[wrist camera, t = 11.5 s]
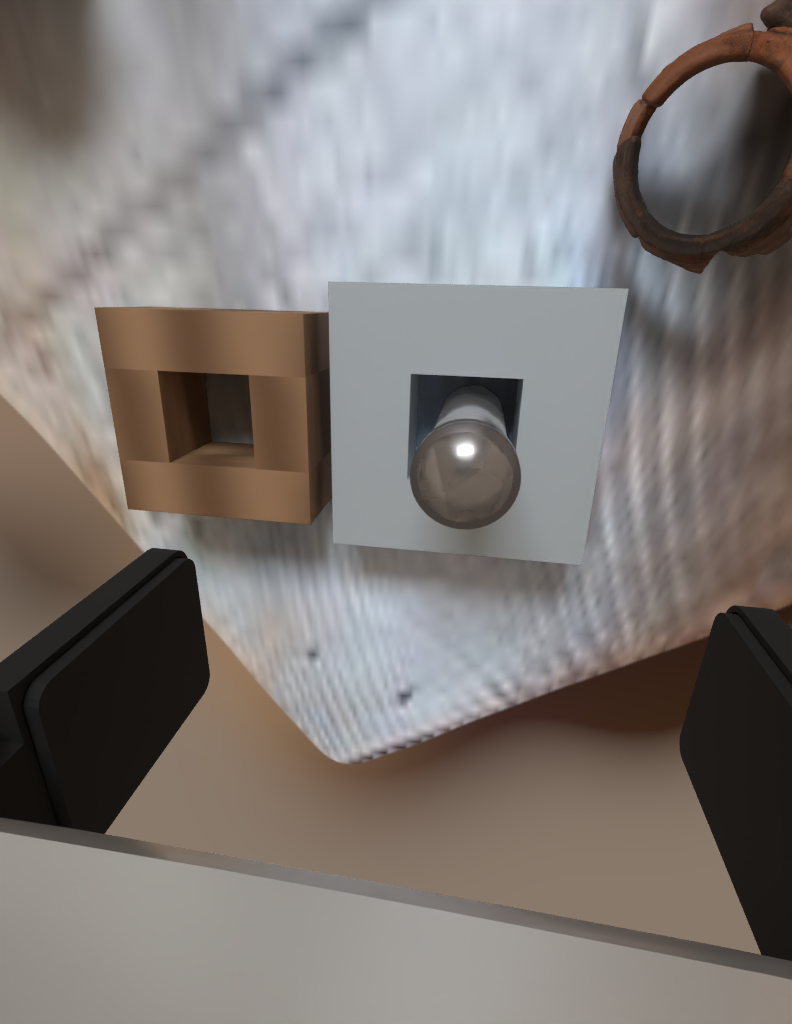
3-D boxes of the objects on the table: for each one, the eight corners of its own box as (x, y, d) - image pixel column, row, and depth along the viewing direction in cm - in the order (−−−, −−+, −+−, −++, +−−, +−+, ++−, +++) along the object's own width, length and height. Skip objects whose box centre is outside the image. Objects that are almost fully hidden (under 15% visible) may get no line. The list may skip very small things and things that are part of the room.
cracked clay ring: (794, 282, 27) (770, 306, 22) (618, 233, 31) (559, 242, 26) (990, -54, 20) (1029, -148, 14) (728, -64, 24) (678, -140, 18)
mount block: (330, 312, 31) (303, 314, 26) (333, 494, 35) (310, 524, 30) (150, 306, 32) (94, 307, 28) (173, 482, 36) (128, 509, 32)
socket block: (609, 290, 28) (628, 288, 24) (571, 536, 33) (581, 565, 30) (347, 284, 30) (328, 281, 26) (349, 517, 35) (333, 543, 31)
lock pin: (512, 381, 31) (527, 427, 20) (504, 453, 32) (514, 533, 21) (438, 378, 31) (411, 420, 20) (434, 449, 33) (408, 525, 22)
